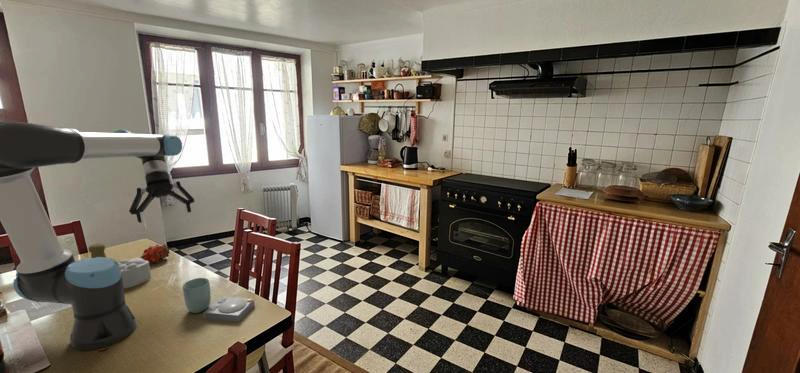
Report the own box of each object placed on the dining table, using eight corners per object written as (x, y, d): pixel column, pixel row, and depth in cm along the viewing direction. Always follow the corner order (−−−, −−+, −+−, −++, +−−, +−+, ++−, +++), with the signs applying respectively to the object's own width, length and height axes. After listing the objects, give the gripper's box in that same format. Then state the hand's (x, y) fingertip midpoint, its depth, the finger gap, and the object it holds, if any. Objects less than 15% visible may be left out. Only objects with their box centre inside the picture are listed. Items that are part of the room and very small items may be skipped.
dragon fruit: (173, 260, 158) (144, 273, 148) (164, 247, 160) (134, 259, 150) (174, 250, 153) (144, 262, 143) (164, 237, 155) (134, 248, 145)
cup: (193, 318, 112) (190, 291, 109) (181, 311, 116) (178, 284, 113) (216, 307, 118) (213, 281, 116) (204, 301, 122) (201, 275, 120)
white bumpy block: (154, 278, 137) (151, 258, 136) (116, 292, 126) (112, 271, 124) (140, 272, 142) (137, 253, 140) (102, 285, 131) (99, 265, 129)
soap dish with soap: (238, 322, 110) (238, 314, 110) (204, 319, 111) (203, 311, 111) (254, 305, 120) (254, 298, 119) (222, 302, 121) (222, 295, 121)
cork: (101, 271, 142) (96, 247, 140) (87, 271, 142) (82, 246, 140) (113, 265, 148) (109, 241, 146) (99, 265, 148) (95, 241, 146)
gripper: (194, 173, 140) (206, 219, 134) (119, 185, 127) (128, 237, 122) (192, 164, 134) (204, 213, 128) (113, 176, 121) (122, 231, 116)
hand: (167, 225), depth 125 cm, fingers open, 13 cm apart
